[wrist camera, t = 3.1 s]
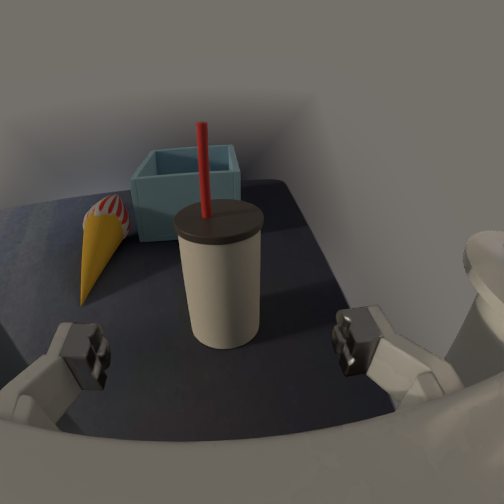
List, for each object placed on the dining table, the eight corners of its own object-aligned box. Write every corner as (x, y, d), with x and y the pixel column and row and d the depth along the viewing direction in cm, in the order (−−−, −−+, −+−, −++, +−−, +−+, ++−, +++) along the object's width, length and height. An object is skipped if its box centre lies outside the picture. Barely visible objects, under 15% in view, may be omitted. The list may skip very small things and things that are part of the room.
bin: (234, 193, 55) (232, 144, 51) (241, 236, 42) (240, 171, 38) (157, 198, 54) (151, 150, 50) (139, 242, 41) (129, 179, 36)
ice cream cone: (87, 329, 32) (118, 218, 47) (119, 312, 30) (146, 197, 44) (44, 302, 29) (89, 193, 43) (72, 280, 27) (116, 169, 41)
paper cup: (256, 299, 31) (257, 114, 22) (266, 348, 26) (272, 127, 17) (191, 303, 31) (171, 118, 22) (188, 353, 25) (156, 133, 16)
